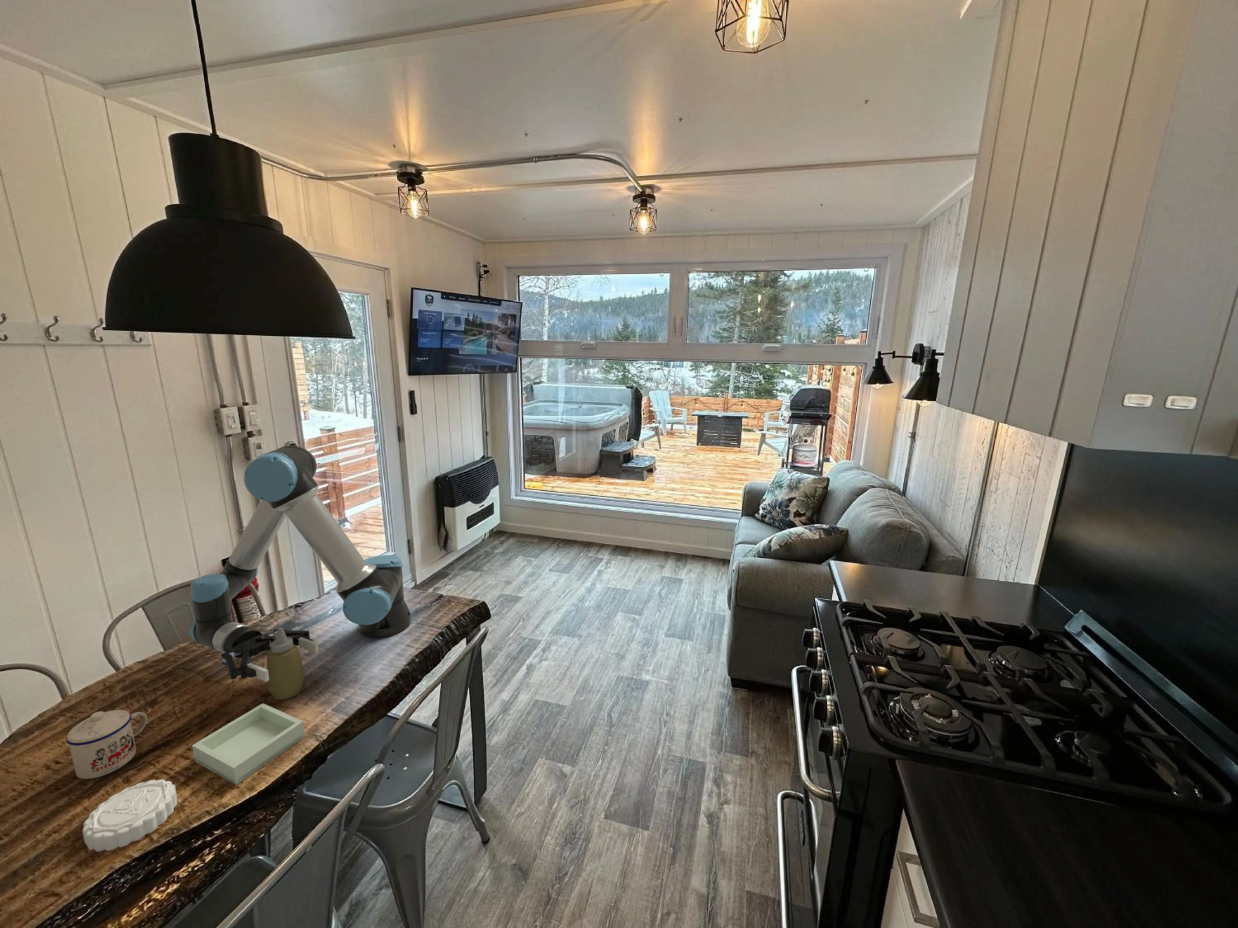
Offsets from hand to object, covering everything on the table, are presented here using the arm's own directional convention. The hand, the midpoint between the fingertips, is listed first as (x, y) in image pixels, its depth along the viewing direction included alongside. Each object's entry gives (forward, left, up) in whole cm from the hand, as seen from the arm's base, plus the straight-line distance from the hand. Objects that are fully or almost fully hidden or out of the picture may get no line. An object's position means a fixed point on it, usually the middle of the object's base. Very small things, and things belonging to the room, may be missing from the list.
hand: (293, 661), depth 119 cm
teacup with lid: (+28, -16, -10) cm, 34 cm away
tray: (+15, +7, -10) cm, 19 cm away
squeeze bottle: (0, -4, -10) cm, 11 cm away
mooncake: (+34, +5, -11) cm, 36 cm away
